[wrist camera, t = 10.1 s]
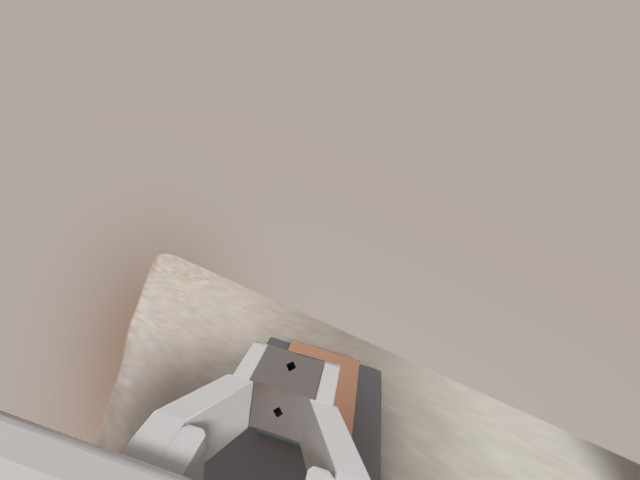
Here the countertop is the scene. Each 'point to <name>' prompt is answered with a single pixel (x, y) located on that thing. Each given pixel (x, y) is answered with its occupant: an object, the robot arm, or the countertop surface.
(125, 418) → the countertop surface
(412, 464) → the countertop surface
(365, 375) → the board
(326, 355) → the tile
